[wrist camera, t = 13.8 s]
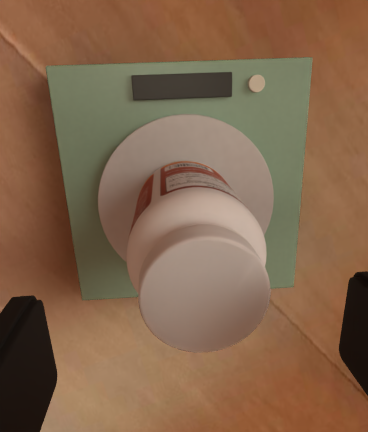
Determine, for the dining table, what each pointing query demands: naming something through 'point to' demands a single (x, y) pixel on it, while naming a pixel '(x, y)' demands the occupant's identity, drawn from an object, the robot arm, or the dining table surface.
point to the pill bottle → (197, 259)
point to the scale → (178, 149)
